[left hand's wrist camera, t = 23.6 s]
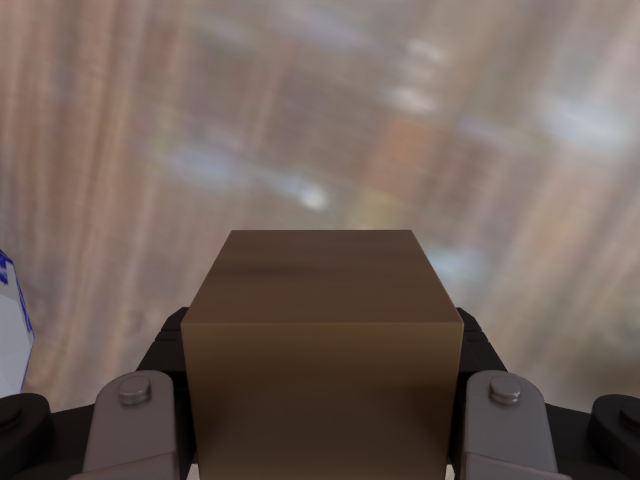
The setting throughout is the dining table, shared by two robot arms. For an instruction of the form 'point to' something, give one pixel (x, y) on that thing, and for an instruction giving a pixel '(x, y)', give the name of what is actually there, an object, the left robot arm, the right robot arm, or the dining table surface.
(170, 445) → the left robot arm
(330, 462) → the brick
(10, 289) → the ornament
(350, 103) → the dining table surface
